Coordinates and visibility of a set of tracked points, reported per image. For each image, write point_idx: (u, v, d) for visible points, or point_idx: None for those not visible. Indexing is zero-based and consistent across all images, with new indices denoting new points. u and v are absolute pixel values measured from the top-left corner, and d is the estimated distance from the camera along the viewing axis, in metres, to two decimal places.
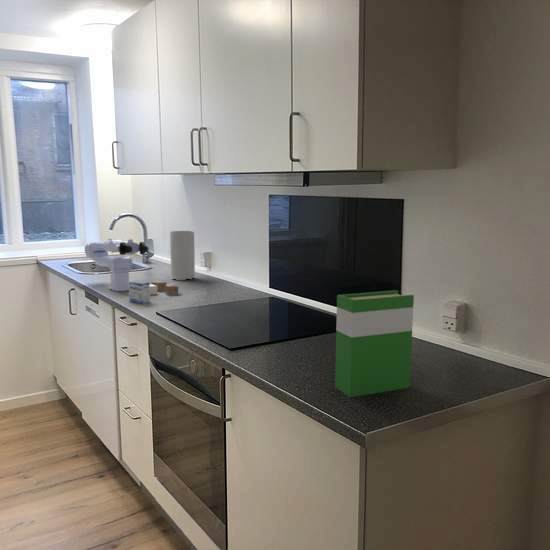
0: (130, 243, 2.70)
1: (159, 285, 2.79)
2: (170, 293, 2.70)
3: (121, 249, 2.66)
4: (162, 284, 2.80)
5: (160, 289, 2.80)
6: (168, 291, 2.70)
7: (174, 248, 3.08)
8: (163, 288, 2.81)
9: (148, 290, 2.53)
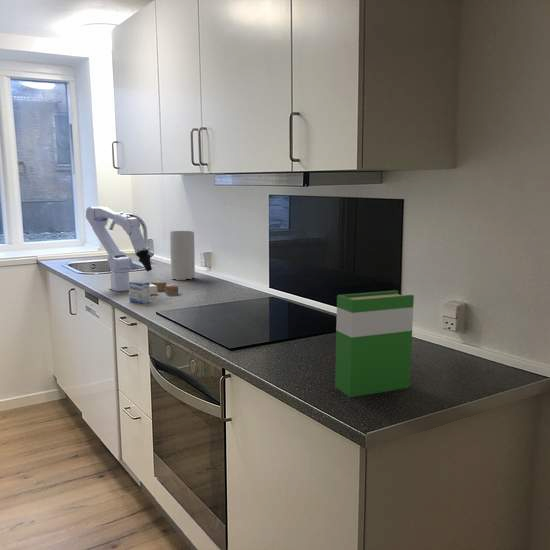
0: (146, 250, 2.70)
1: (159, 285, 2.79)
2: (170, 293, 2.70)
3: (141, 253, 2.64)
4: (162, 284, 2.80)
5: (160, 289, 2.80)
6: (168, 291, 2.70)
7: (174, 248, 3.08)
8: (163, 288, 2.81)
9: (148, 290, 2.53)
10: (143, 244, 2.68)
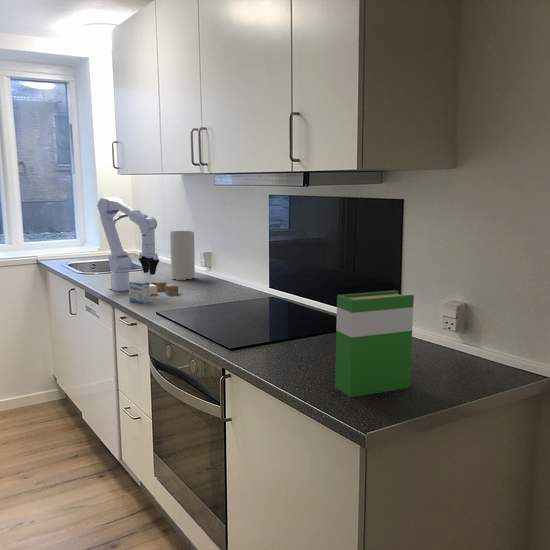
0: None
1: (159, 285, 2.79)
2: (170, 293, 2.70)
3: (153, 260, 2.66)
4: (162, 284, 2.80)
5: (160, 289, 2.80)
6: (168, 291, 2.70)
7: (174, 248, 3.08)
8: (163, 288, 2.81)
9: (148, 290, 2.53)
10: (154, 250, 2.69)
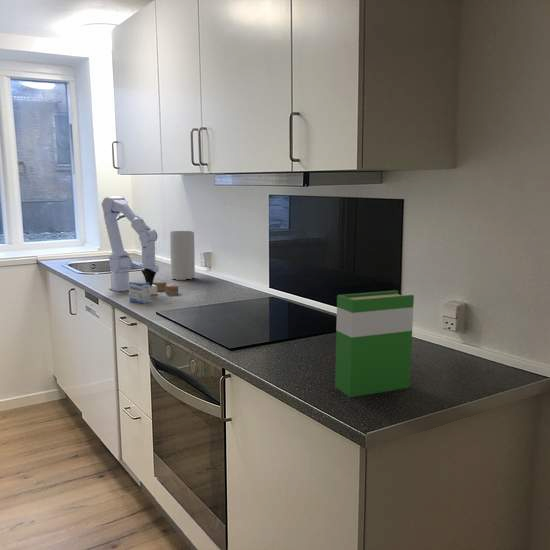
0: None
1: (159, 285, 2.79)
2: (170, 293, 2.70)
3: (150, 272, 2.69)
4: (162, 284, 2.80)
5: (160, 289, 2.80)
6: (168, 291, 2.70)
7: (174, 248, 3.08)
8: (163, 288, 2.81)
9: (148, 290, 2.53)
10: (154, 262, 2.70)
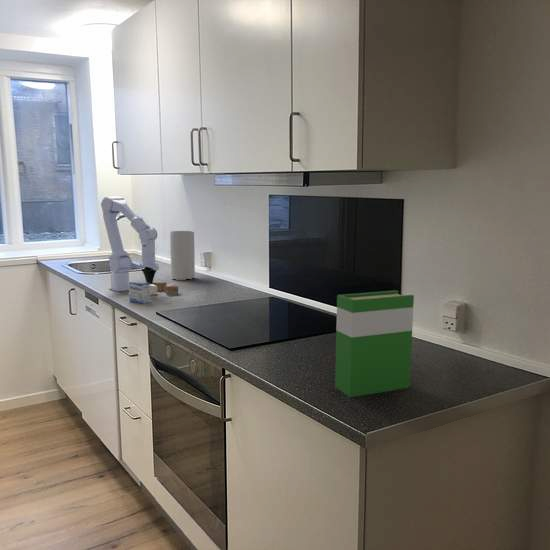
0: None
1: (159, 285, 2.79)
2: (170, 293, 2.70)
3: (150, 270, 2.69)
4: (162, 284, 2.80)
5: (160, 289, 2.80)
6: (168, 291, 2.70)
7: (174, 248, 3.08)
8: (163, 288, 2.81)
9: (148, 290, 2.53)
10: (154, 260, 2.70)
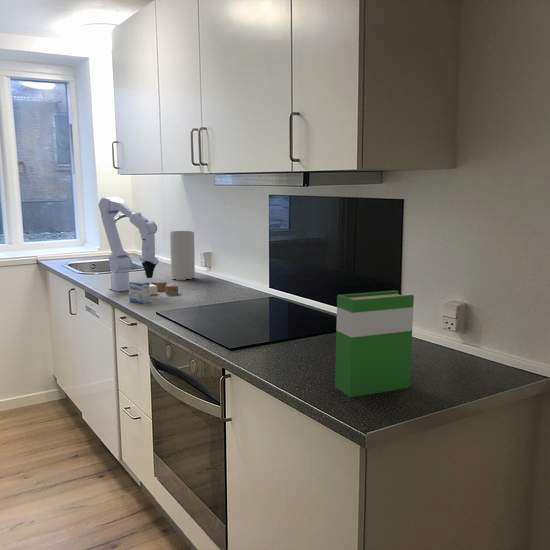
0: None
1: (159, 285, 2.79)
2: (170, 293, 2.70)
3: (150, 264, 2.69)
4: (162, 284, 2.81)
5: (160, 289, 2.80)
6: (168, 291, 2.70)
7: (174, 248, 3.08)
8: (163, 288, 2.81)
9: (148, 290, 2.53)
10: (154, 254, 2.69)
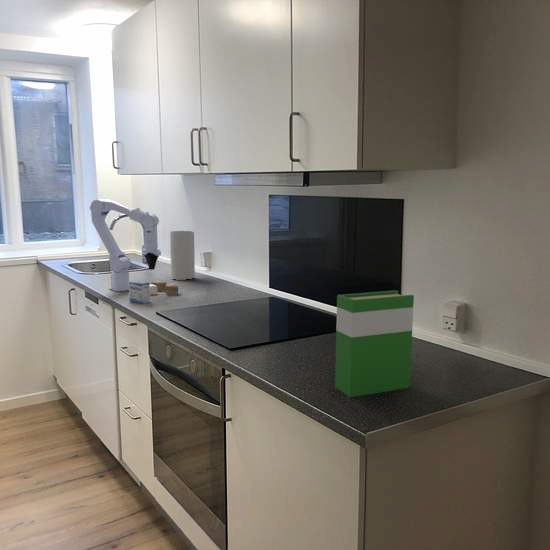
0: None
1: (159, 285, 2.79)
2: (170, 293, 2.70)
3: (152, 256, 2.75)
4: (162, 284, 2.81)
5: (160, 289, 2.80)
6: (168, 291, 2.70)
7: (174, 248, 3.08)
8: (163, 288, 2.81)
9: (148, 290, 2.53)
10: (157, 246, 2.75)
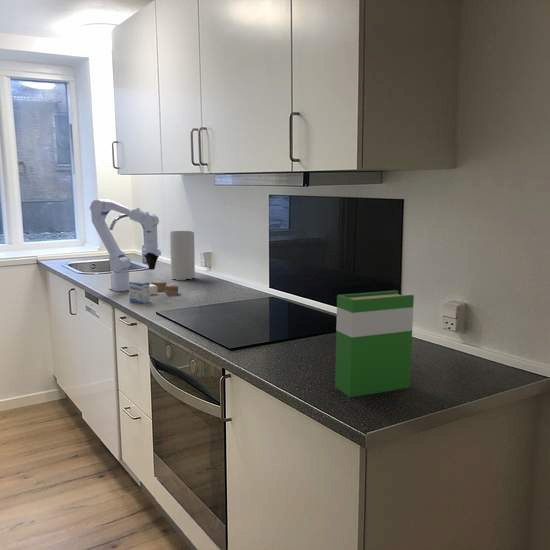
0: None
1: (159, 285, 2.79)
2: (170, 293, 2.70)
3: (152, 256, 2.75)
4: (162, 284, 2.81)
5: (160, 289, 2.80)
6: (168, 291, 2.70)
7: (174, 248, 3.08)
8: (163, 288, 2.81)
9: (148, 290, 2.53)
10: (157, 246, 2.75)
